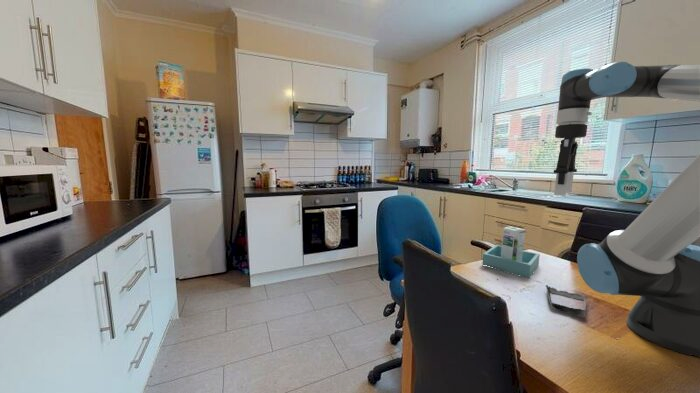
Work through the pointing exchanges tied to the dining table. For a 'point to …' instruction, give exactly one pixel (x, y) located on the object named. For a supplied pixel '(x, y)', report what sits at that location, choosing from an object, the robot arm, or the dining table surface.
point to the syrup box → (513, 243)
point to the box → (511, 262)
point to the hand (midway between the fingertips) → (563, 193)
